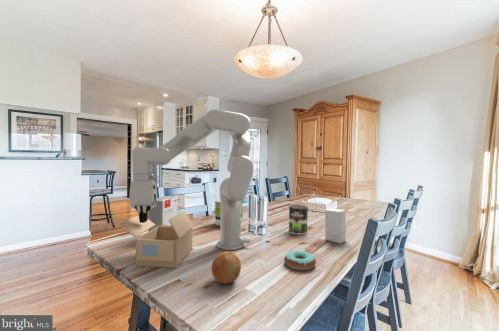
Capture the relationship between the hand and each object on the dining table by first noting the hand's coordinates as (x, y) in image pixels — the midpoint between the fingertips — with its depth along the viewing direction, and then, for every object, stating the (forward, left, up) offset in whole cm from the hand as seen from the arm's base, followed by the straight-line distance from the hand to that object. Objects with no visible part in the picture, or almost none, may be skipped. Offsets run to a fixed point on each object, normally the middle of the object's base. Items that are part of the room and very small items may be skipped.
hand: (143, 221), depth 101 cm
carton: (-10, 0, -14) cm, 17 cm away
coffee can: (-68, -41, -15) cm, 80 cm away
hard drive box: (+2, -24, -15) cm, 28 cm away
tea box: (-27, -53, -15) cm, 61 cm away
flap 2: (-18, 0, -4) cm, 19 cm away
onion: (-38, +17, -15) cm, 44 cm away
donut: (-64, +1, -15) cm, 66 cm away
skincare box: (-85, -29, -15) cm, 91 cm away
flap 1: (-1, 0, -4) cm, 4 cm away
